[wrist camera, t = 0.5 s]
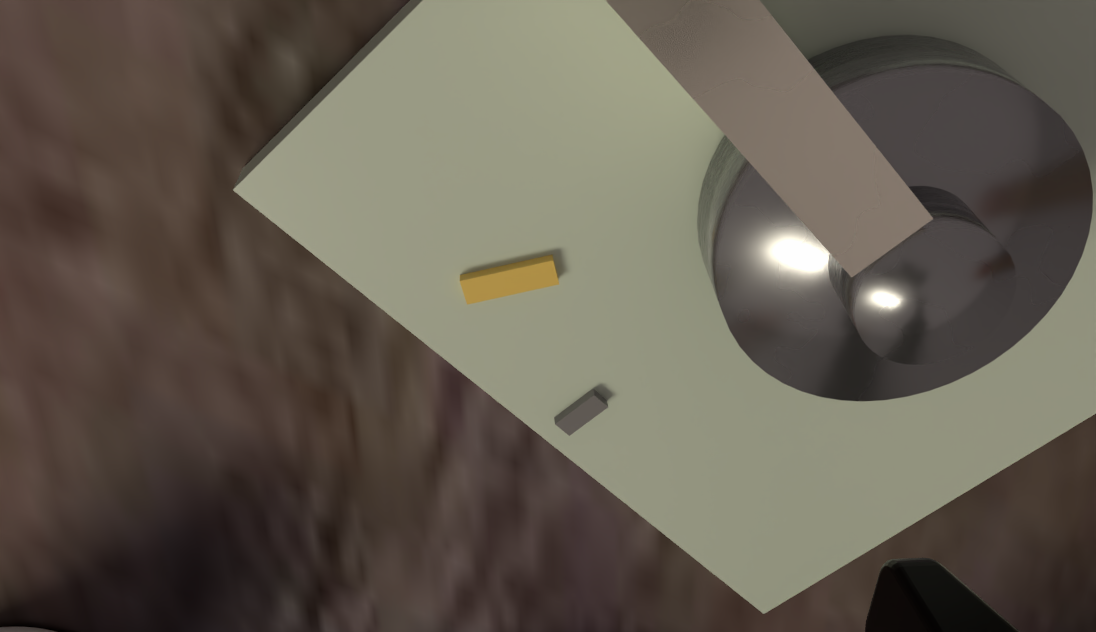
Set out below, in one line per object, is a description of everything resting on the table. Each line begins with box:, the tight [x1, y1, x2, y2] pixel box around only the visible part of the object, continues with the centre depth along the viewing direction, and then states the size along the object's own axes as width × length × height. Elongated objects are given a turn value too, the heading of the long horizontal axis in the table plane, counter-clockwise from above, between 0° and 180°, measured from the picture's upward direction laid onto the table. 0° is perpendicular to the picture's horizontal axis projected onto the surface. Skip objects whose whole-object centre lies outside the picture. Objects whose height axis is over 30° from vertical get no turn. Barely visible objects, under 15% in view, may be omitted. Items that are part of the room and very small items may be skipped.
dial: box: [606, 0, 1093, 401], centre depth 18 cm, size 12×7×4 cm, turn 42°
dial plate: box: [233, 0, 1096, 614], centre depth 21 cm, size 18×18×1 cm
